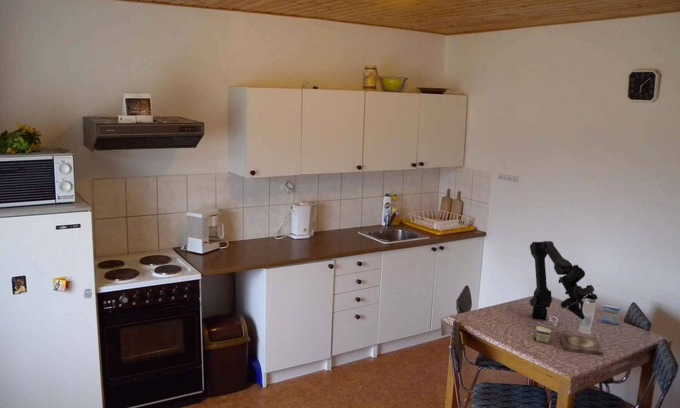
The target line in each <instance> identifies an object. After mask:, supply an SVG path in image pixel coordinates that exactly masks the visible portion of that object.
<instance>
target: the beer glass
mask: <svg viewBox="0 0 680 408" xmlns="http://www.w3.org/2000/svg"><path fill="white" fill-rule="evenodd" d="M579 308H580V310H581V312H582V314H583V317H584V319H583V320H582V319H581V318H579V317H578V327H577V330H576V331H577V332H578V333H579V334H582V335H591V334H592V324H593V323H594V318H595V317H594V316H596V309H597V301H596V300H592V299H588V298H582V299H580V303H579Z"/></svg>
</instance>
